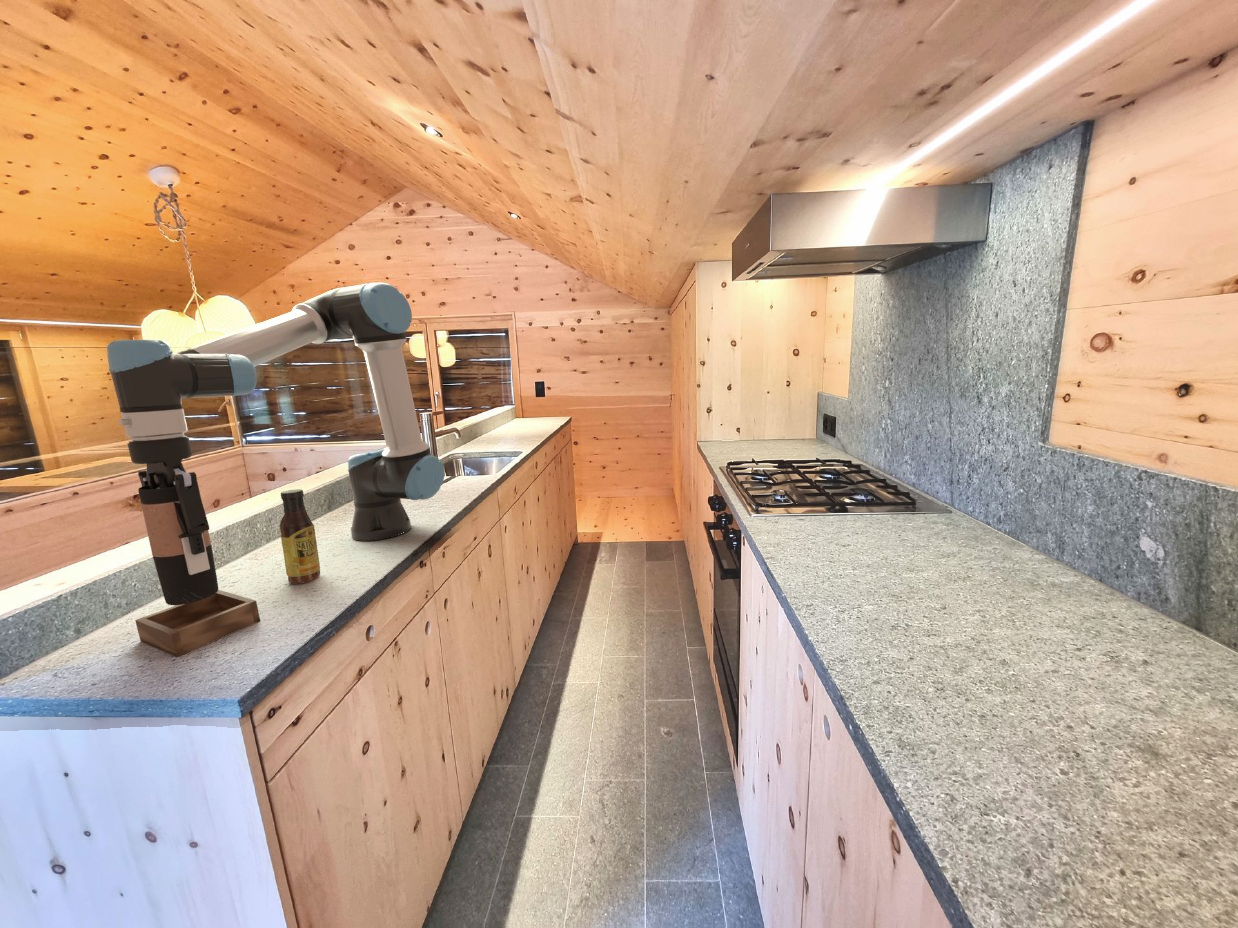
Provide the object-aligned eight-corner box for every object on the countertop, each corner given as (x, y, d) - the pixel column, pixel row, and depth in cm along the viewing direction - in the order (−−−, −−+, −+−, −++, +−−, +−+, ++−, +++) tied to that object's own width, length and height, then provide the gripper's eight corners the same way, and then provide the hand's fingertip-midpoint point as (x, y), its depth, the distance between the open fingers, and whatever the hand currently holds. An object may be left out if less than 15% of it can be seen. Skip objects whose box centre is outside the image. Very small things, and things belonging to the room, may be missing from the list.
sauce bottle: (305, 586, 106) (289, 495, 102) (281, 584, 107) (264, 495, 103) (329, 573, 112) (314, 487, 108) (305, 572, 113) (290, 487, 109)
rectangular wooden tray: (223, 609, 97) (219, 589, 96) (260, 620, 91) (256, 600, 90) (140, 641, 86) (135, 620, 85) (176, 657, 80) (171, 634, 79)
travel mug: (164, 596, 87) (139, 485, 84) (219, 582, 92) (198, 477, 88) (162, 610, 82) (134, 492, 78) (221, 595, 86) (198, 483, 83)
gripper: (100, 439, 83) (131, 568, 87) (159, 441, 74) (191, 585, 78) (157, 433, 90) (183, 553, 94) (218, 435, 80) (244, 568, 85)
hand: (187, 567), depth 86 cm, fingers closed on travel mug, 8 cm apart
